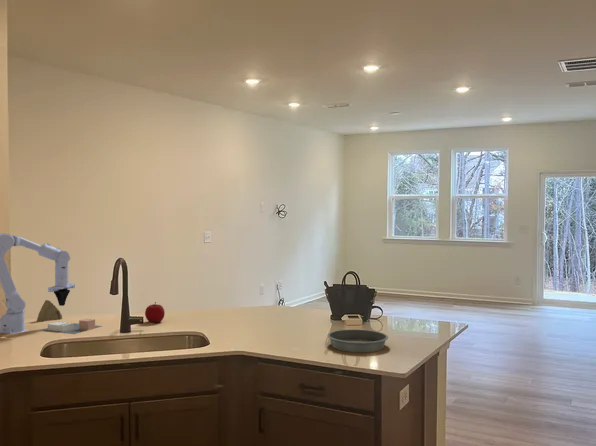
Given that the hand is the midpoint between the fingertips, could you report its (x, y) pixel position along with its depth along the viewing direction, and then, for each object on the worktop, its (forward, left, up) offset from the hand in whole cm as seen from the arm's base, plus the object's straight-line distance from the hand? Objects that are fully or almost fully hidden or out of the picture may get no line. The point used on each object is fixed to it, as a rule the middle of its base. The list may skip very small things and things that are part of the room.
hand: (61, 305), depth 261 cm
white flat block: (-7, -6, -9) cm, 13 cm away
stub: (-1, -16, -9) cm, 18 cm away
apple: (+26, -33, -10) cm, 43 cm away
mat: (-3, -9, -10) cm, 13 cm away
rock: (+9, +16, -10) cm, 21 cm away
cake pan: (+18, -137, -10) cm, 139 cm away
